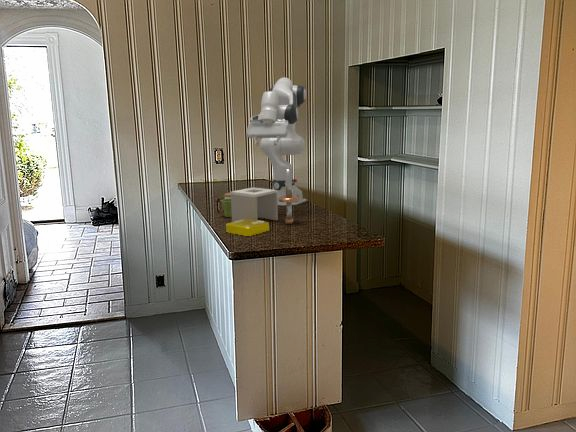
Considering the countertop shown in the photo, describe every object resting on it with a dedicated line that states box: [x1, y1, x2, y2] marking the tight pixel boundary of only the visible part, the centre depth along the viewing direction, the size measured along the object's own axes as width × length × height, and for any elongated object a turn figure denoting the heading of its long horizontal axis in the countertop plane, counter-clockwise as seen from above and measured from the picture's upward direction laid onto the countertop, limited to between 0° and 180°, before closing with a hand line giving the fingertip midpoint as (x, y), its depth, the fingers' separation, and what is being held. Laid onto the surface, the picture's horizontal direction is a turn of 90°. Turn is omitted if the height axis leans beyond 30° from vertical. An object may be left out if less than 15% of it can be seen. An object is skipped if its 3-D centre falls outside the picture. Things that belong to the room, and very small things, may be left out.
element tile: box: [225, 219, 270, 237], centre depth 235 cm, size 15×15×5 cm
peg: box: [279, 168, 300, 225], centre depth 248 cm, size 10×10×26 cm
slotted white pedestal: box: [230, 187, 279, 222], centre depth 255 cm, size 16×16×15 cm
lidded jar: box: [223, 191, 232, 199], centre depth 292 cm, size 11×11×9 cm
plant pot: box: [220, 198, 232, 218], centre depth 268 cm, size 9×9×9 cm
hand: (266, 145), depth 255 cm, fingers open, 8 cm apart
